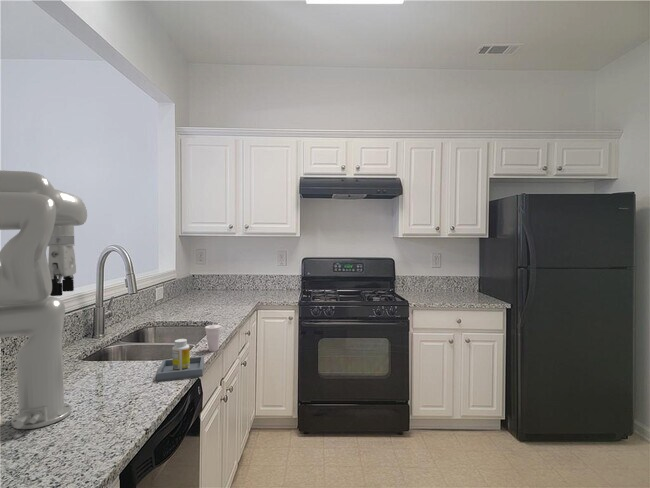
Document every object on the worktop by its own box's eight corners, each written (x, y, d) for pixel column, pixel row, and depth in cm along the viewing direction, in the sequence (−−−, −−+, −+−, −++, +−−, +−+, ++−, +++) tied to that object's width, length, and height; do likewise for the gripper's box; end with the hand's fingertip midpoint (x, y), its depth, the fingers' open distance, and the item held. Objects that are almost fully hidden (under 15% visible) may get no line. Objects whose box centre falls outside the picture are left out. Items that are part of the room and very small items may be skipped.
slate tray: (202, 376, 128) (202, 369, 128) (157, 381, 124) (156, 373, 124) (204, 362, 141) (204, 356, 141) (163, 366, 138) (163, 359, 138)
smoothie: (209, 353, 152) (208, 318, 152) (202, 349, 157) (202, 315, 156) (224, 350, 156) (223, 316, 156) (217, 346, 161) (216, 313, 161)
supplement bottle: (191, 366, 136) (190, 337, 136) (188, 371, 130) (188, 341, 130) (174, 367, 135) (173, 338, 134) (171, 373, 129) (170, 342, 129)
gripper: (63, 242, 119) (65, 297, 120) (82, 240, 136) (84, 289, 136) (35, 242, 117) (37, 298, 118) (58, 241, 134) (60, 290, 134)
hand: (62, 293), depth 127 cm, fingers open, 9 cm apart
